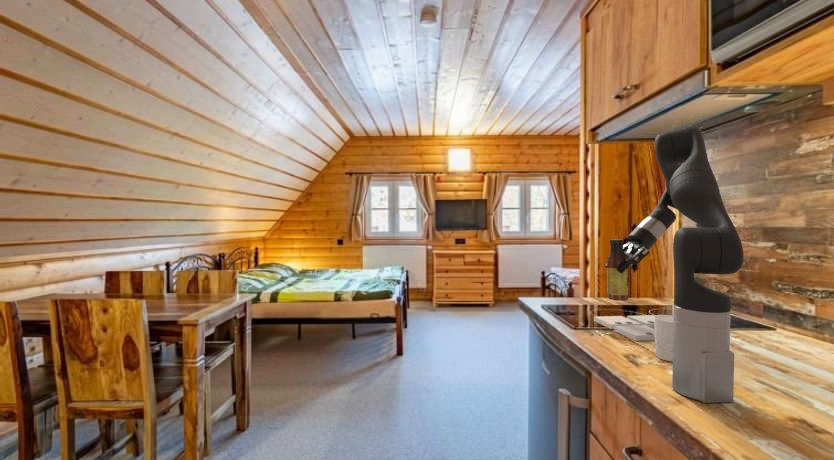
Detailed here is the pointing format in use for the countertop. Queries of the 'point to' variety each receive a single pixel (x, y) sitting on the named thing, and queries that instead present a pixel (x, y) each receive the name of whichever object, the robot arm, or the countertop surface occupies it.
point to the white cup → (664, 336)
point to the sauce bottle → (616, 272)
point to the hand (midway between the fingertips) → (612, 269)
